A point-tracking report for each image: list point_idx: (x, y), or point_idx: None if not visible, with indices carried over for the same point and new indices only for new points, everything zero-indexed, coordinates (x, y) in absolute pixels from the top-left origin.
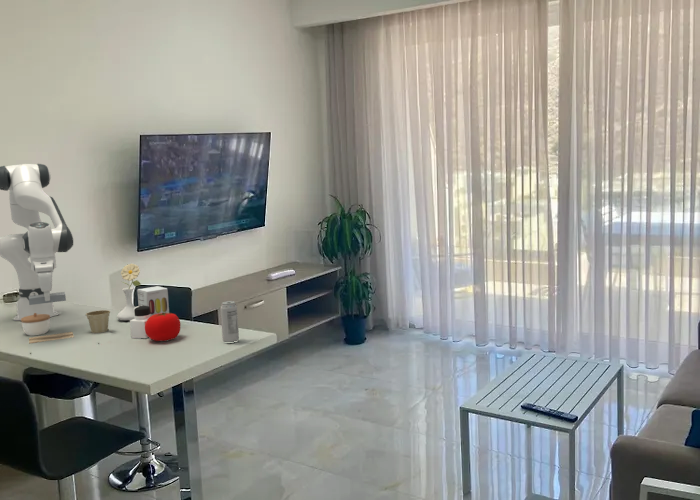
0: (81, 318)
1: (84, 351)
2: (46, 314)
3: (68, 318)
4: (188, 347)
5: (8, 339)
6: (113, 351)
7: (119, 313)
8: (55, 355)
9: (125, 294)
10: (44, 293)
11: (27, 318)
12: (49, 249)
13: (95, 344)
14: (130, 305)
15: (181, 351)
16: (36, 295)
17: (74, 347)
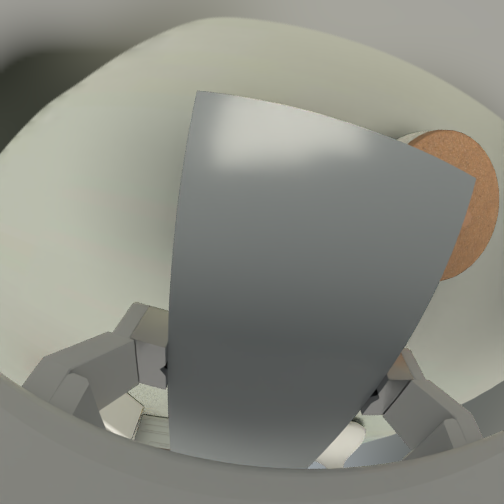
0: (467, 353)
1: (35, 255)
2: (451, 272)
3: (497, 326)
4: (20, 379)
5: (429, 83)
6: (18, 303)
7: (341, 436)
8: (33, 176)
9: None
10: (56, 359)
11: (448, 162)
12: None
13: (87, 303)
14: (325, 465)
15: (4, 362)
16: (408, 283)
17: (83, 246)
